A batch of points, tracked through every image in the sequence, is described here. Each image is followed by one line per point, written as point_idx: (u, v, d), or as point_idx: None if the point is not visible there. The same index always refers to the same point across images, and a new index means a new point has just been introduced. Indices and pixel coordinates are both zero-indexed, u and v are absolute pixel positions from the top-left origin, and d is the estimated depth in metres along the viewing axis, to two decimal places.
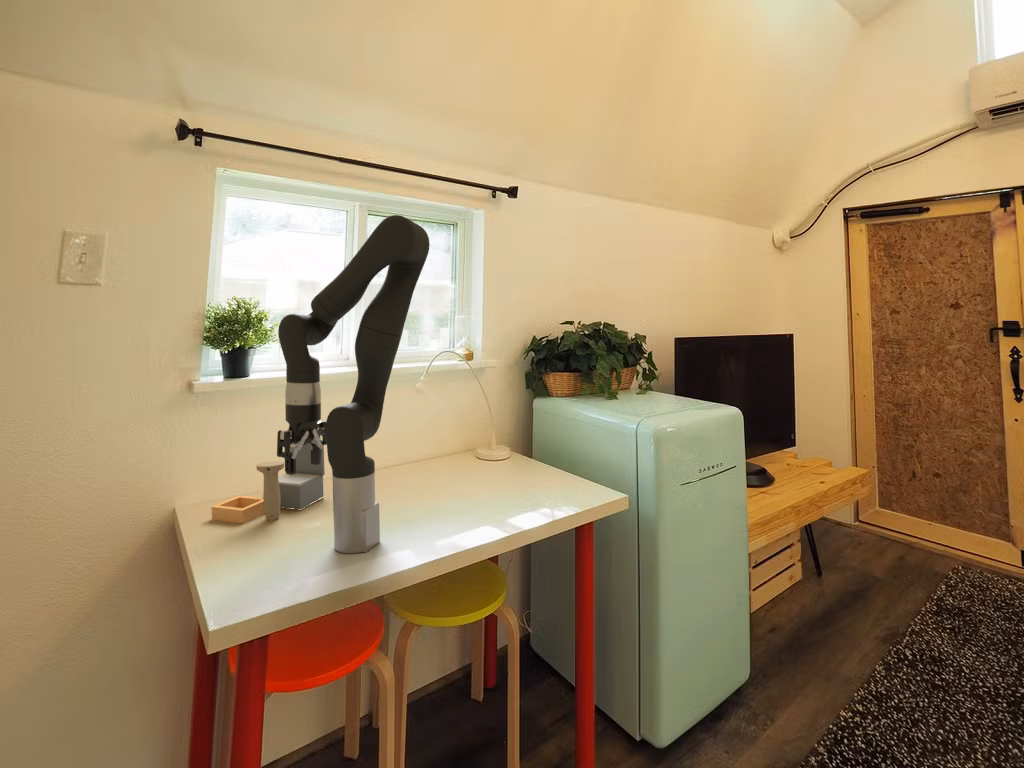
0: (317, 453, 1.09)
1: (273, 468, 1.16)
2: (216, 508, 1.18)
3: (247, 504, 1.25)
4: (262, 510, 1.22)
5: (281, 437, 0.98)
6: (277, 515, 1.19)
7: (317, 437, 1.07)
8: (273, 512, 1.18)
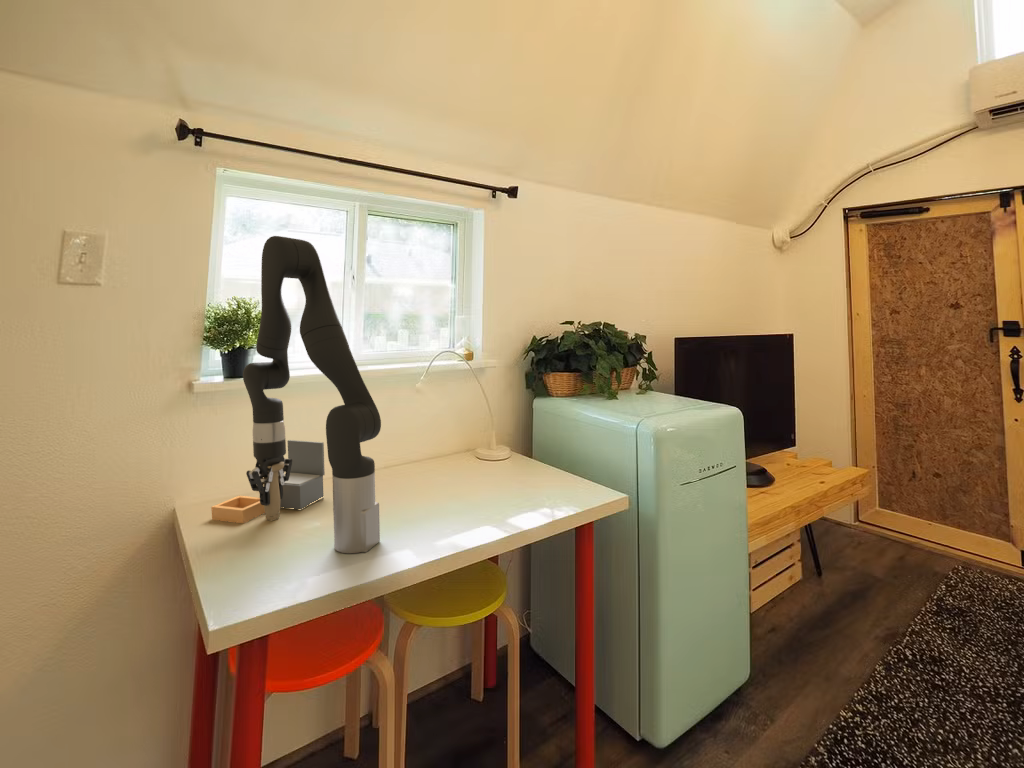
0: (279, 489, 1.20)
1: (273, 468, 1.16)
2: (216, 508, 1.18)
3: (247, 504, 1.25)
4: (262, 510, 1.22)
5: (251, 477, 1.12)
6: (277, 515, 1.19)
7: (281, 472, 1.20)
8: (273, 512, 1.18)
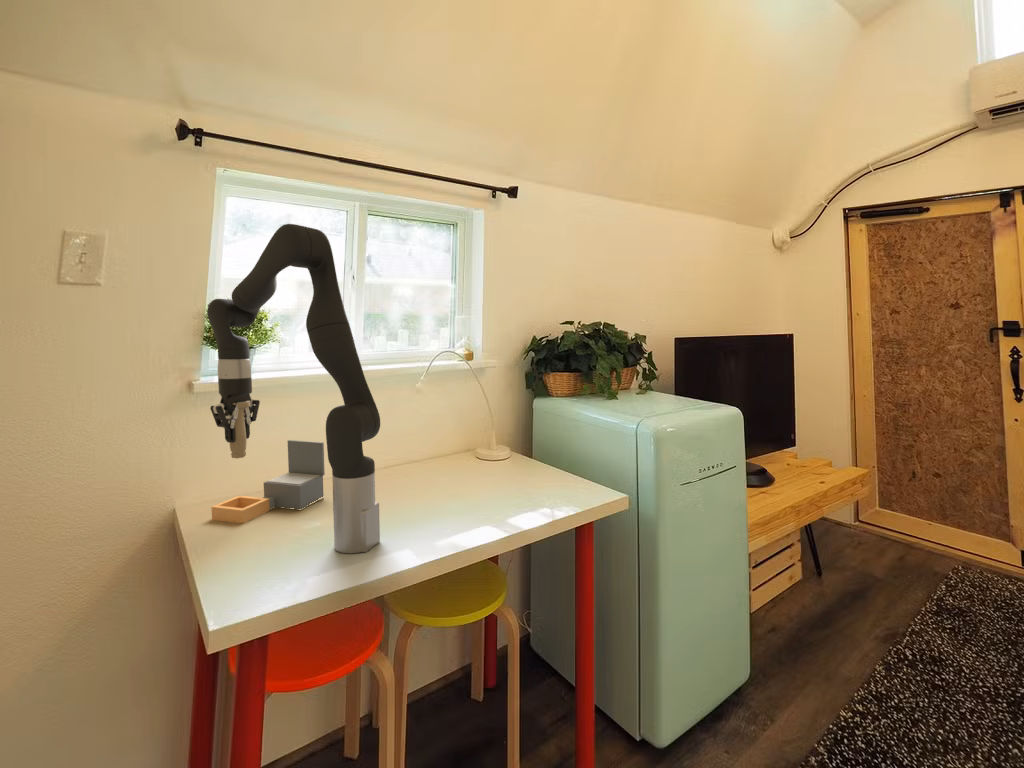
0: None
1: (238, 405, 1.17)
2: (216, 508, 1.18)
3: (247, 504, 1.25)
4: (262, 510, 1.22)
5: (215, 412, 1.13)
6: (243, 453, 1.19)
7: (247, 410, 1.20)
8: (238, 450, 1.18)
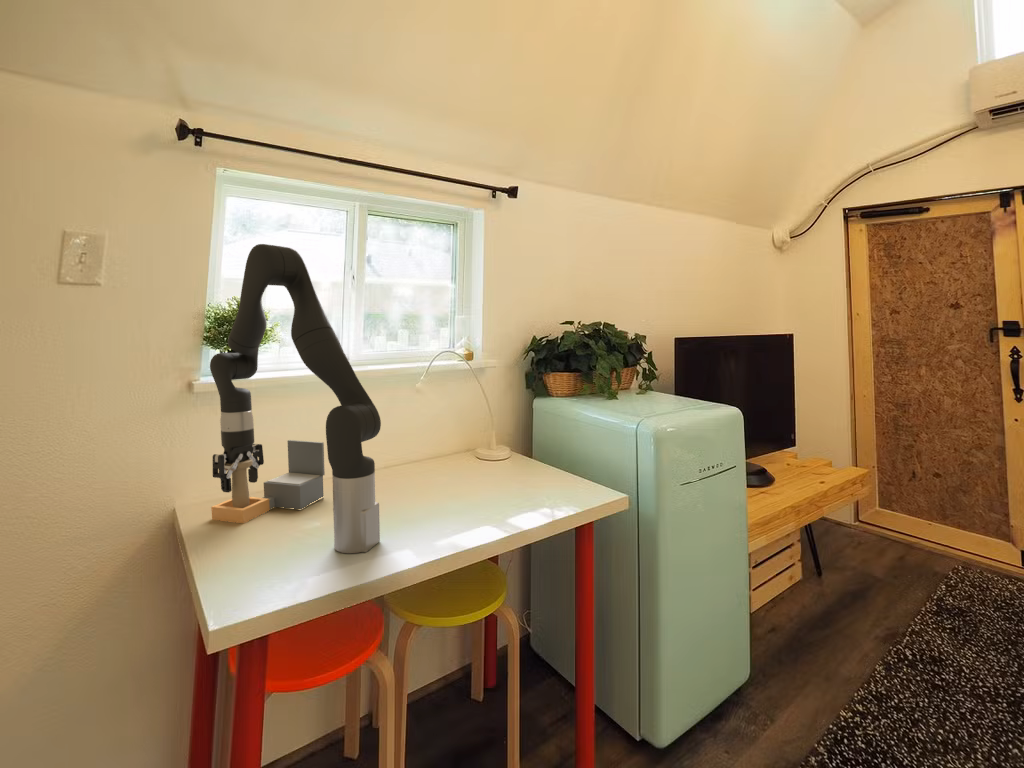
0: (254, 472, 1.24)
1: (241, 465, 1.18)
2: (216, 508, 1.18)
3: None
4: (262, 510, 1.22)
5: (215, 460, 1.13)
6: None
7: (252, 458, 1.22)
8: None
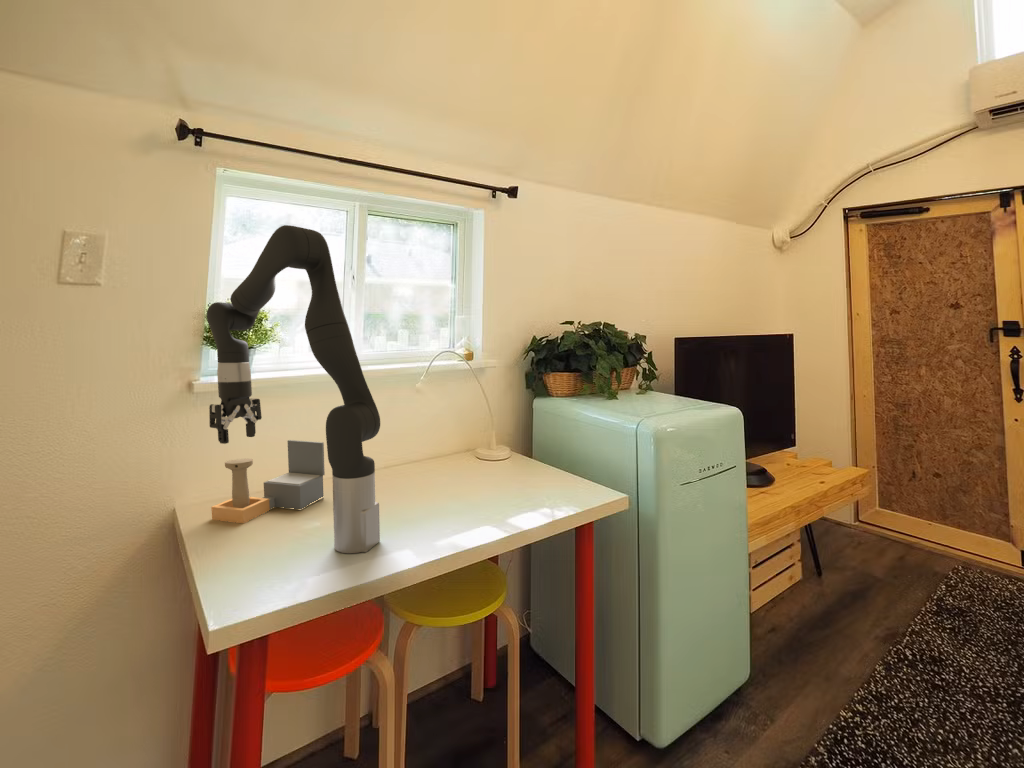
0: (251, 426, 1.23)
1: (241, 465, 1.18)
2: (216, 508, 1.18)
3: None
4: (262, 510, 1.22)
5: (212, 410, 1.12)
6: None
7: (250, 412, 1.21)
8: None
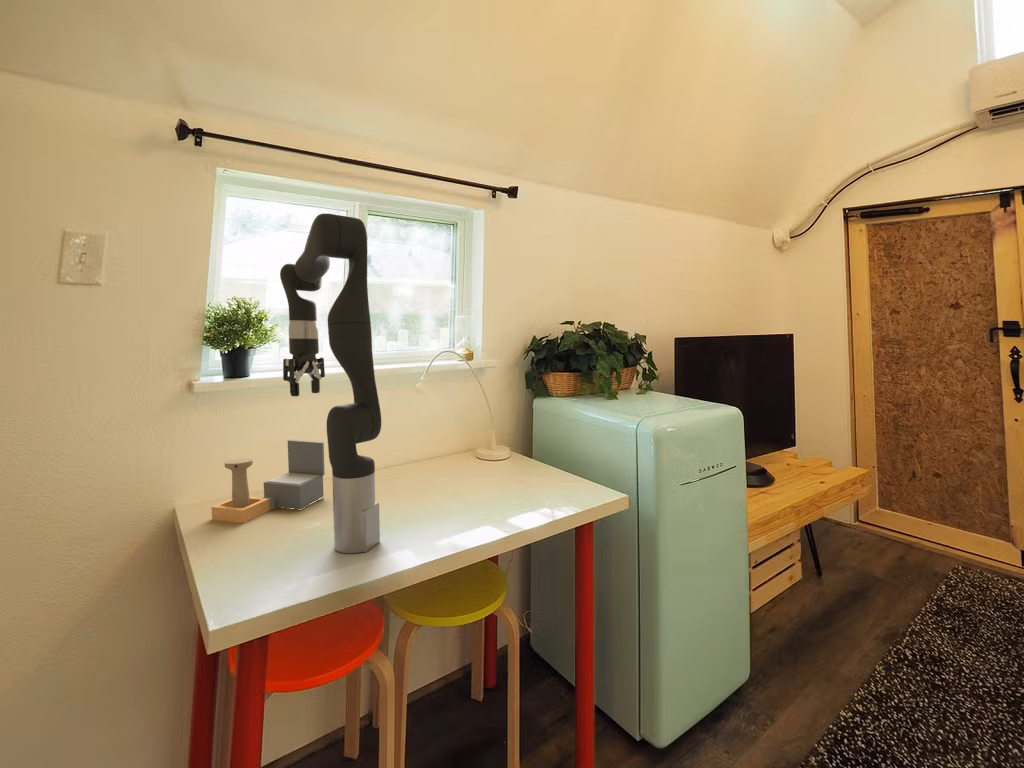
0: (316, 383, 1.31)
1: (241, 465, 1.18)
2: (216, 508, 1.18)
3: None
4: (262, 510, 1.22)
5: (286, 364, 1.20)
6: None
7: (316, 368, 1.29)
8: None
